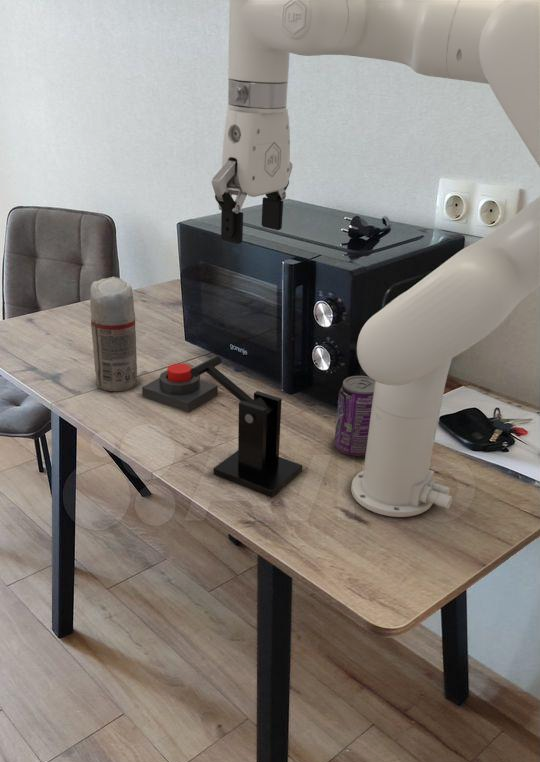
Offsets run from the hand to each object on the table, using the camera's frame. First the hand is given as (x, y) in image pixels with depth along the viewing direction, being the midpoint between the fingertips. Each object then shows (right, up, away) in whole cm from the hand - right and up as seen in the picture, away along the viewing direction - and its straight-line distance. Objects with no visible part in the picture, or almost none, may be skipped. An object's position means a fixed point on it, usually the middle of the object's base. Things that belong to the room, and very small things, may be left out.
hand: (252, 234), depth 99 cm
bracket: (+1, -33, +13) cm, 36 cm away
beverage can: (+17, -29, +20) cm, 39 cm away
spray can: (-27, -16, +38) cm, 49 cm away
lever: (-3, -22, +8) cm, 23 cm away
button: (-14, -16, +32) cm, 39 cm away
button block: (-15, -19, +34) cm, 42 cm away
